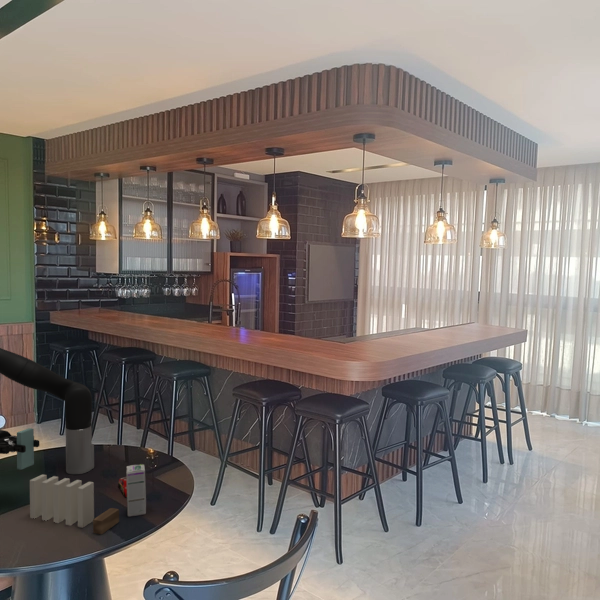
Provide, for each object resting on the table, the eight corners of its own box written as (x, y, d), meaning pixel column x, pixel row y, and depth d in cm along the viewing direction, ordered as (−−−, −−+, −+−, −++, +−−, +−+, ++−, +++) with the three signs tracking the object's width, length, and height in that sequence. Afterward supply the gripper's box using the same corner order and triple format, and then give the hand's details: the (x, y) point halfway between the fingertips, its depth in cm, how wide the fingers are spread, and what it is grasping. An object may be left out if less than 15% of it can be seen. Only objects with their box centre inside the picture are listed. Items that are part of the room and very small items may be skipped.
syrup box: (146, 514, 161) (146, 469, 160) (126, 517, 159) (126, 472, 158) (145, 506, 166) (145, 463, 166) (126, 509, 164) (126, 465, 164)
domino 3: (41, 520, 157) (41, 482, 156) (54, 512, 161) (53, 476, 161) (46, 521, 156) (46, 483, 155) (58, 513, 161) (58, 476, 160)
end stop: (93, 532, 149) (93, 519, 149) (110, 520, 157) (110, 507, 157) (101, 534, 148) (101, 521, 148) (119, 521, 156) (118, 509, 156)
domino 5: (65, 524, 154) (65, 486, 153) (77, 517, 159) (76, 479, 158) (70, 525, 153) (70, 486, 153) (82, 518, 158) (81, 480, 158)
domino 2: (30, 518, 158) (29, 480, 157) (42, 510, 163) (42, 474, 162) (34, 518, 157) (34, 481, 157) (47, 511, 162) (46, 475, 162)
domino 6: (77, 526, 153) (77, 488, 152) (89, 519, 157) (88, 481, 157) (82, 527, 152) (82, 488, 152) (94, 520, 157) (93, 482, 156)
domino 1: (17, 468, 164) (16, 432, 163) (29, 463, 169) (29, 428, 168) (21, 469, 163) (21, 433, 163) (33, 464, 168) (33, 428, 168)
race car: (141, 497, 174) (141, 485, 174) (125, 500, 172) (125, 489, 171) (132, 483, 186) (132, 472, 185) (117, 486, 183) (117, 475, 183)
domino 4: (53, 522, 155) (53, 484, 155) (65, 515, 160) (65, 477, 159) (58, 523, 155) (57, 484, 154) (70, 515, 159) (69, 478, 159)
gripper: (-28, 436, 163) (13, 441, 158) (10, 423, 177) (48, 428, 172) (-28, 458, 163) (13, 465, 158) (10, 444, 177) (49, 450, 172)
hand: (31, 446), depth 165 cm, fingers closed on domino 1, 5 cm apart
